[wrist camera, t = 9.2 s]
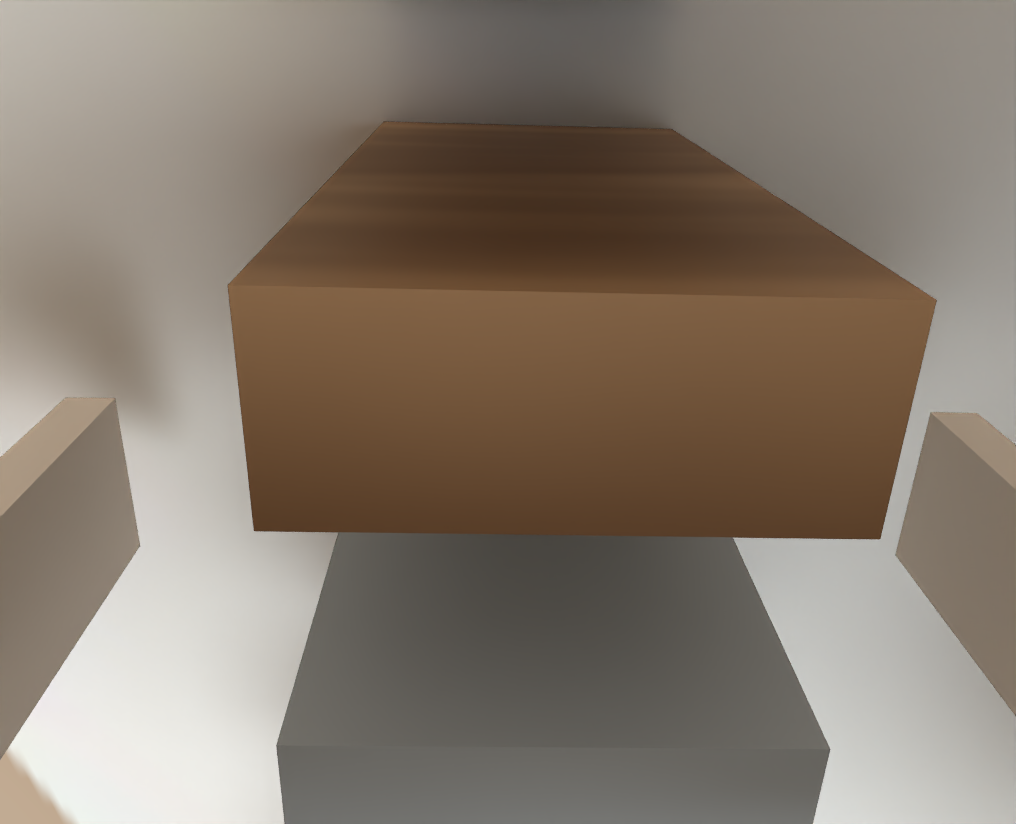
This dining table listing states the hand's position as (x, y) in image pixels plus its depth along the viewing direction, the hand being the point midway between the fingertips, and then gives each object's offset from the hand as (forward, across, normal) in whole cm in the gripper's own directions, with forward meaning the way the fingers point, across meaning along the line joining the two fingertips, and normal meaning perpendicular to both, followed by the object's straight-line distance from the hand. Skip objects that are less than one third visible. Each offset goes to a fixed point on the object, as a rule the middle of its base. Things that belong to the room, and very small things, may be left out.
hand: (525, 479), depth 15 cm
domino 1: (+3, 0, +4) cm, 5 cm away
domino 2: (+3, 0, 0) cm, 3 cm away
